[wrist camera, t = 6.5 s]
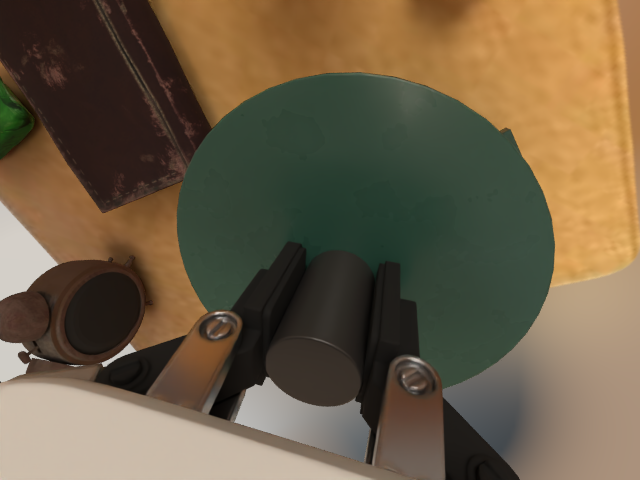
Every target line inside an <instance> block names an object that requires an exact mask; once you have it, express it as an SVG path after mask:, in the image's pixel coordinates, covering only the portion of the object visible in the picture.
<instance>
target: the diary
mask: <svg viewBox="0 0 640 480" xmlns="http://www.w3.org/2000/svg"><path fill="white" fill-rule="evenodd" d="M0 61H1V62H2V64H3V65H4V67H5V68H6V70H7V71H8V72H9V74H10V75H11V77H12V78H13V80H14V81H15V83H16V84H17V85H18V87H19V88H20V90H21V91H22V93H23V94H24V95H25V97H26V98H27V100H28V101H29V103H30V104H31V105H32V107H33V108H34V110H35V112H36V113H37V115H38V117H39V118H40V120H41V121H42V123H43V125H44V126H45V128H46V130H47V131H48V133H49V135H50V136H51V138H52V140H53V141H54V143H55V144H56V146H57V148H58V149H59V151H60V153H61V154H62V156H63V158H64V159H65V161H66V162H67V164H68V165H69V167H70V168H71V170H72V171H73V172H74V174H75V175H76V177H77V178H78V179H79V181H80V182H81V184H82V185H83V186H84V188H85V189H86V191H87V192H88V193H89V195H90V196H91V198H92V199H93V201H94V202H95V203H96V205H97V206H98V208H99V209H100V210H101V212H102V213H105V212H108V211H110V210H113V209H115V208H118V207H120V206H123V205H125V204H127V203H130V202H132V201H135V200H137V199H140V198H142V197H145V196H147V195H149V194H152V193H154V192H157V191H159V190H162V189H164V188H167V187H169V186H171V185H174V184H176V183H179V182H181V181H183V179H184V176H185V173H186V171H187V168H188V166H189V164H190V162H191V160H192V158H193V155H194V153H195V152H196V150H197V149H198V147H199V146H200V144H201V143H202V142H203V140H204V139H205V137H206V136H207V134H208V133H209V132H210V131H211V130H212V129H211V127H210V125H209V123H208V121H207V119H206V117H205V115H204V114H203V112H202V110H201V108H200V106H199V104H198V102H197V100H196V98H195V96H194V94H193V91H192V89H191V87H190V85H189V83H188V81H187V79H186V77H185V75H184V72H183V70H182V68H181V66H180V64H179V62H178V60H177V58H176V56H175V53H174V51H173V49H172V47H171V45H170V43H169V41H168V39H167V37H166V35H165V33H164V31H163V29H162V27H161V25H160V23H159V21H158V20H157V18H156V16H155V14H154V12H153V10H152V8H151V6H150V4H149V2H148V0H0Z"/></svg>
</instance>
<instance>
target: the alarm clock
mask: <svg viewBox="0 0 640 480" xmlns="http://www.w3.org/2000/svg"><path fill="white" fill-rule="evenodd" d="M133 259H135V257H134V256H130V259H129V260H128V262H127V263H126V264H125V265H121V264H118V263H113V262H111V261H113V258H111V257H110V258H109V259H108V260H109V261H102V260H81V261H70V262H66V263H62V264H60V265H57V266H55V267H53V268H51V269H50V270H48V271H46V272H45V273H44V274H42V275H41V276H40V277H39V278H37V279H36V280H35V281H34V283H33V284H32V285H31V286H30V287H29V289H28V290H27V291H26V292H21V293H17V294H14V295H11V296H9V297H7V298H5V299H3V300H2V301H0V339H1V340H3V341H5V342H10V343H22V344H23V345H24V347H25V348H26V349H27V350H28V351H29V352H28V353H26V352H24V351H22V352H19V353H18V357H19V358H20V360H21V361H22V362H23V363H24V364H27V363H29V362H30V363H29V365H28V368H27V371H26V374H27V373H33V372H40V371H48V370H55V369H63V368H70V367H74V366H69V365H93V364H99V363H102V362H104V361H106V360H109V359H110V358H112V357H114V356H115V355H117V354H118V353H119V352H121V351H122V350H123V349H124V348H125V347H126V346H127V345H128V344H129V343H130V341H131V340H132V339H133V337H134V336H135V334H136V333H137V331H138V329H139V327H140V325H141V323H142V320H143V317H144V313H145V307H146V305H152V304H153V301H149V302H146V295H145V290H144V286H143V284H142V282H141V280H140V278H139V277H138V275H137V274H136V273H135V272H134V271H133V270H131V269H130V266H131V263H132V260H133ZM31 353H32V354H33V355H35V356H37V357H40V358H43V359H46V360H49V361H46V360H41V359H35V358H32V360H31V359H30V357H29V355H30V354H31ZM0 383H1V382H0Z"/></svg>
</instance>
